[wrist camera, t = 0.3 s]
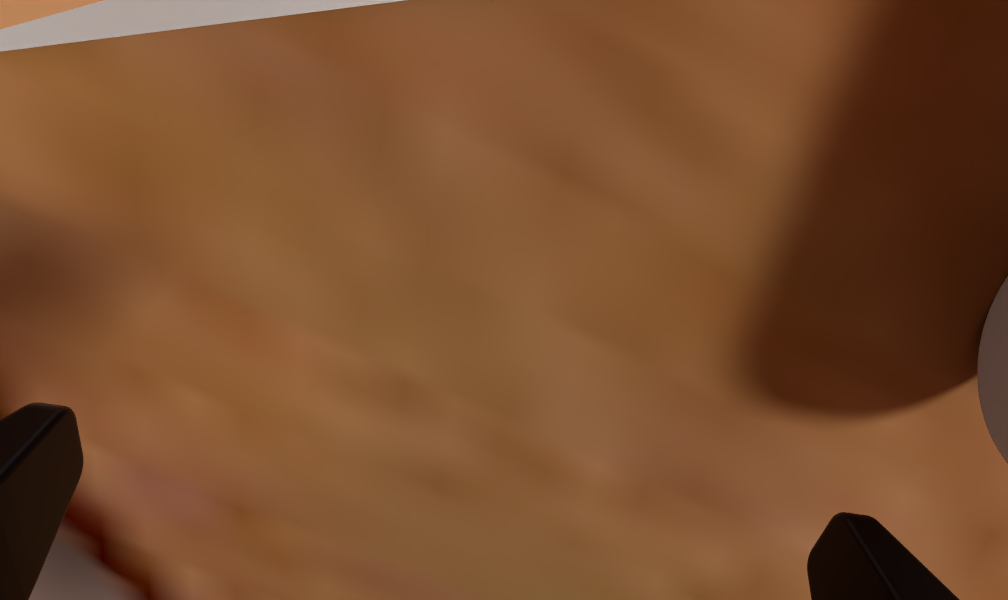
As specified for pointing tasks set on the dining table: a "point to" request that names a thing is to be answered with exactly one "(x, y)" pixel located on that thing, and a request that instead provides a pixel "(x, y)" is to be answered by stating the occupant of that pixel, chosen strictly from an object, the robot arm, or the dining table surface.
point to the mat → (153, 18)
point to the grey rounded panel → (995, 370)
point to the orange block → (34, 9)
